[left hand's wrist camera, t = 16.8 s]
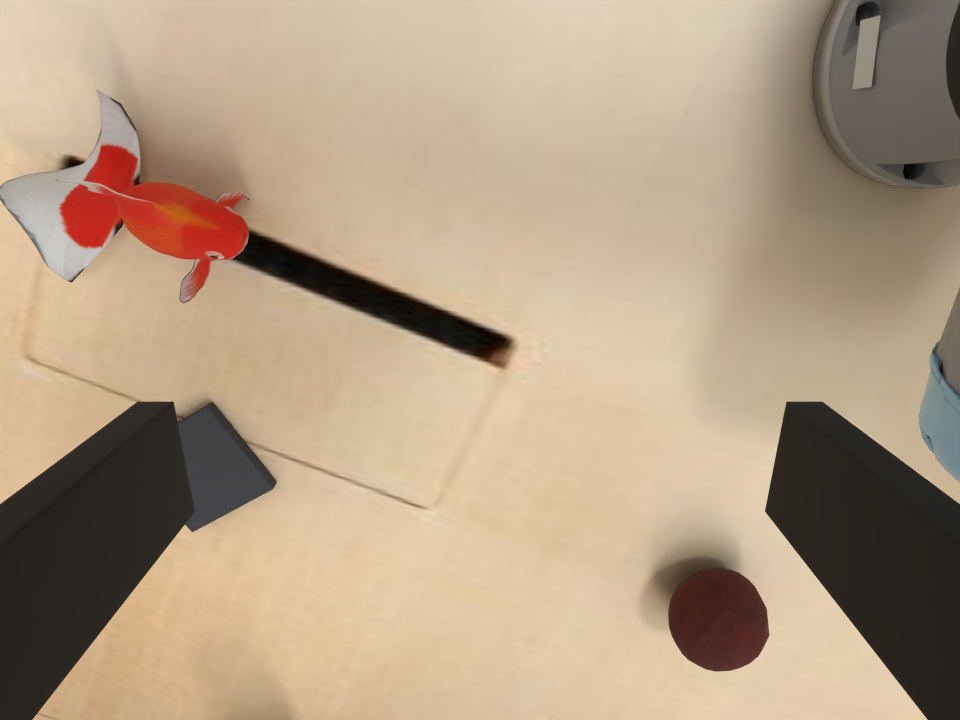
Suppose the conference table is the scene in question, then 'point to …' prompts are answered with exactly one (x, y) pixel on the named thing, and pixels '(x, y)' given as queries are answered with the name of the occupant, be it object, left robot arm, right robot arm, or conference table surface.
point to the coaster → (219, 467)
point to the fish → (122, 209)
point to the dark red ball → (718, 620)
